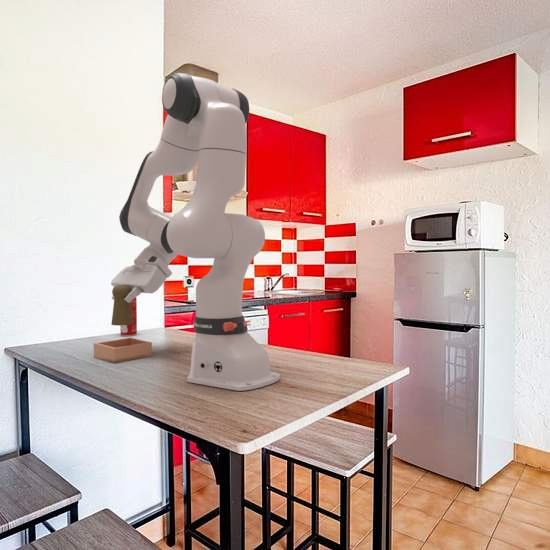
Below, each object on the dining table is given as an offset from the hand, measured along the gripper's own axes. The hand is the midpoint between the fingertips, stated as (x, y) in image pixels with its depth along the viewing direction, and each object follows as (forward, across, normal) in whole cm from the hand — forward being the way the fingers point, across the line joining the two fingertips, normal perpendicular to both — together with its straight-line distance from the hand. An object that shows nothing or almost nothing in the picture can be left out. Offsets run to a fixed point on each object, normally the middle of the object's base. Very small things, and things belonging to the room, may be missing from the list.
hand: (120, 300), depth 124 cm
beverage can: (-3, -31, +26) cm, 41 cm away
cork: (+4, 0, +5) cm, 7 cm away
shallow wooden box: (+11, 0, +12) cm, 16 cm away
